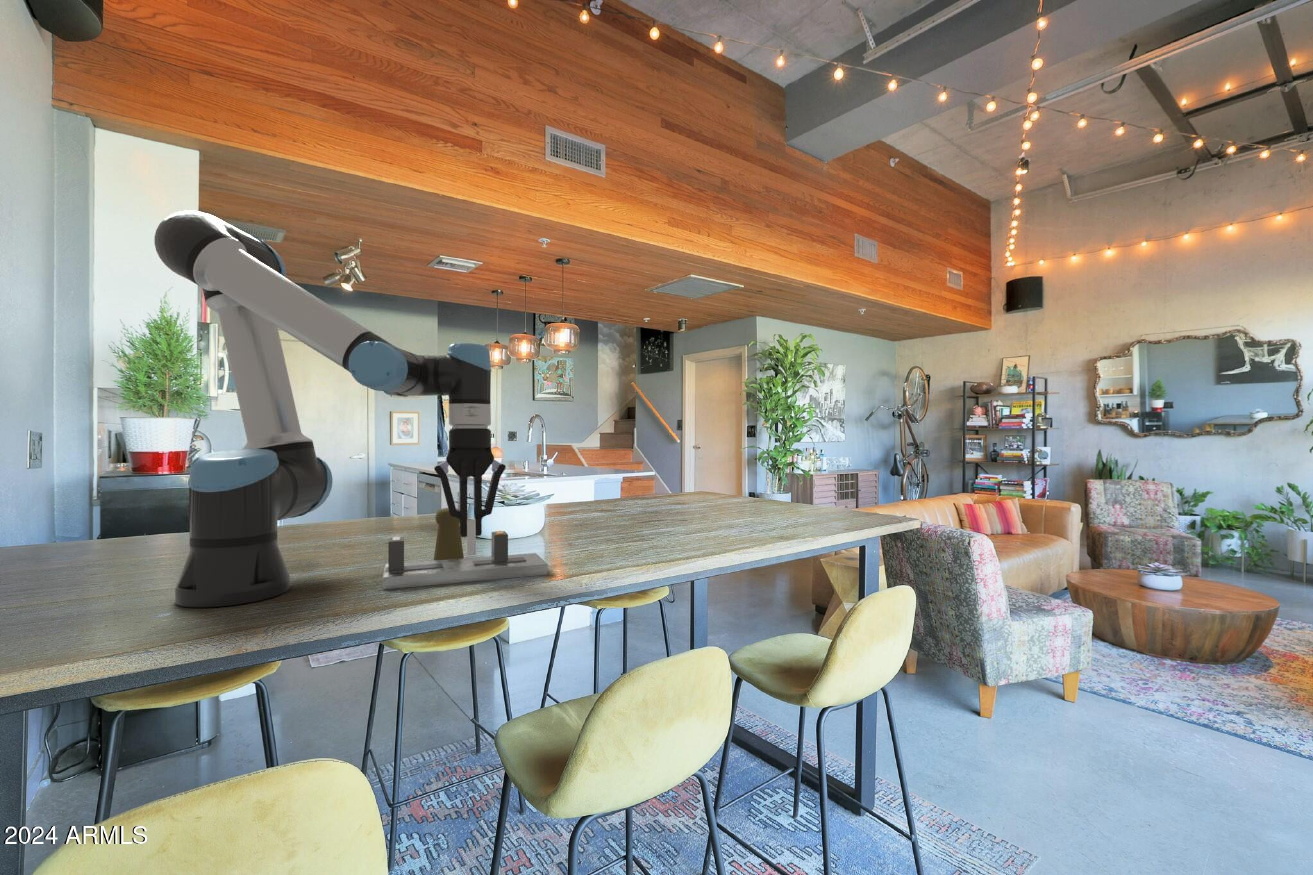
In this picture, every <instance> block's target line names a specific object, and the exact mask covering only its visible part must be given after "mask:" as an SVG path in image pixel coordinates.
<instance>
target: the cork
mask: <svg viewBox="0 0 1313 875" xmlns="http://www.w3.org/2000/svg"><path fill="white" fill-rule="evenodd" d="M456 510H458V511H459V508H456ZM435 523H436V524H437V525H438V526H437V533H436V540H435V547H434V553H433V554H434V556H433V561H436V560H449V559H463V558H465V557H464V556H465V555H464V549H463V542H462V537H461V535H460V520H459V518H456V517H452V516H451V515H450V513H449V509H448V507H445V508H440V509H438V510H437V511H436V512H435Z"/></svg>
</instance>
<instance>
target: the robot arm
mask: <svg viewBox="0 0 1313 875" xmlns="http://www.w3.org/2000/svg"><path fill="white" fill-rule="evenodd" d="M154 246H155V247H154V248H155V251H156V253H157V255H158V257H159V259H160V260H161V262H162V263H163V264H164V266H166V267H167V268H168V269H169V270H170V271H172V272H173V273H175V274H176V275H178V276H180V277H183V278H185V279H187V280H189V281H190V282H192V283H194V284H195V285H197V286H198V287H200V288H202V289H201V290H202V292H203V297H204V303H205V305H206V306H207V308H209V309H211V310H212V311H213V312H215V313H217V315H218V317H219V322H220V327H221V330H222V331H221V332H222V335H223V338H224V343H225V344H224V345H225V348H226V354H227V357H228V361H229V366H230V371H231V374H232V375H231V376H232V378H233V380H232V381H233V383H234V384H233V385H234V387H235V388H234V389H235V391H236V392H235V393H236V397H237V401H238V406H239V410H240V415H241V419H242V423H243V429H244V432H245V437H246V442H245V445H244V447H242V448H241V449H232V450H222V451H214V452H210V453H204V454H201V455H199V456H197V457H196V458H194V459H193V460H192V462H191V464H190V468H189V477H188V480H187V485H188V487H189V488H188V492H189V496H188V498H189V499H188V500H189V501H188V502H189V504H188V506H189V508H188V509H189V510H188V511H189V520H188V521H189V552H188V554H187V557H186V560H185V563H184V565H183V568H182V570H181V572H180V574H179V575H180V576H179V578H178V580H177V583H176V585H175V589H174V599H175V600H174V603H175V604H176V605H177V606H180V607H186V608H215V607H218V608H219V607H224V606H225V607H227V606H228V607H229V606H235V605H236V606H237V605H243V604H248V603H252V602H253V603H254V602H257V601H258V602H259V601H262V600H266V599H267V600H268V599H271V598H274V597H277V596H280V595H283V594H284V593H286V592H287V591H289V590H290V588H291V587H290V586H291V581H290V580H291V576H290V572H289V570H288V567H287V565H286V562H285V559H284V557H283V554H282V551H281V550H280V547H279V543H278V522H279V521H282V520H287V519H295V518H298V517H302V516H305V515H306V514H308V513H311V512H313V511H316V510H317V509H318V508H320V507H321V506H322V505H323V504H324V503H325V502H326V500H327V499H328V498H329V496H330V494H331V491H332V487H333V474H332V471H331V468H330V467H329V465H328V464H327V462H326V461H325V460H323V459H322V458H321V457H319V456H317V455H316V449H315V446H314V441H313V439H311V438H309V437H308V436H306V435H304V434H303V432H302V430H301V425H300V421H299V420H300V419H299V417H298V412H297V408H296V403H295V398H294V395H293V390H292V389H293V388H292V386H291V381H290V377H289V372H288V368H287V363H286V359H285V355H284V350H283V346H282V341H281V337H280V332H279V329H280V330H282V331H283V332H285V333H286V334H288V335H290V336H291V337H293V338H295V339H297V341H300V342H301V343H302V344H304V345H306V346H307V347H308V348H311V349H312V350H314V351H315V352H317V353H319V354H321V355H322V356H323V357H326V358H327V359H328V360H330V361H332V362H333V363H335V364H336V365H338V366H339V367H341V368H343V369H344V370H346V371H348V372H349V373H350V374H351V376H352V377H353V379H354V380H355V381H356V382H357V383H359V384H360V385H361V386H363V387H366V388H369V389H371V390H373V391H378V392H383V393H385V394H386V395H388V396H397V397H404V398H405V397H406V398H407V397H418V396H419V397H420V396H421V397H423V396H424V397H425V396H428V397H430V396H433V397H434V396H442V397H443V396H448V425H449V426H451V428H449V430H448V454H447V455H446V456H445V457H446V458H445V460H444V461H442V462H441V463H439V464H437V465H435V466H434V467H433V469H434V471H435V473H436V474H437V475H438V477H439V479H440V482H441V483H440V484H441V487H442V491H443V494H444V497H445V498H444V499H445V501H446V505H447V508H448V509H449V513H450V515H451V516H452V517H456V518H459V520H460V524H459V526H460V535H461V538H464V537H465V554H466V556H476V555H477V553H476V552H477V550H476V549H477V548H476V547H477V545H476V544H477V541H476V540H477V539H476V538H477V537H478V536H479V537H481V535H482V532H483V528H482V527H483V524H482V522H483V521H482V520H483V518H484V517H487V516H490V515H491V514H492V512H493V508H494V504H495V501H496V495H497V492H498V488H499V484H500V480H501V476H502V475H503V473H504V471H505V470H506V468H507V466H506V465H505V464H504V463H501V462H499V461H497V460H496V459H495V456H494V454H493V452H492V430H491V429H490V428H488V427H490V426H491V424H492V417H491V416H492V414H491V413H492V410H491V409H492V408H491V405H492V404H491V392H492V391H491V389H492V388H491V387H492V386H491V384H492V383H491V379H492V378H491V377H492V368H491V353H490V352H491V351H490V349H489V348H488V347H487V346H486V345H483V344H479V343H472V342H470V343H469V342H459V343H451V344H450V345H449V346H448V350H447V354H442V355H429V354H428V355H427V354H426V355H425V354H424V355H422V354H416V353H413V352H411V351H408V350H404V349H401V348H399V347H397V346H395V345H394V344H392V343H391V342H389V341H387V340H385V339H384V338H382V337H381V336H380V335H379V334H378V335H377V334H375V333H374V332H372V331H371V330H369V329H367V327H365V326H364V325H361V324H360V323H358V322H357V321H355V320H353V319H352V318H350V317H349V316H347V315H346V314H344V313H342V311H339V310H337V309H336V308H334V306H331V305H329V304H328V303H326V302H325V301H323V300H322V299H320V298H319V297H317V296H315V295H314V294H312V293H311V292H309V291H307V290H306V289H304V288H303V287H301V286H299V285H298V284H297V283H295V282H293V281H291V280H290V279H288V278H287V271H286V270H287V269H286V266H285V262H284V261H283V259H282V257H281V256H280V255H279V253H278V252H277V251H276V250H275V249H274V248H273V247H272V246H271V245H269V244H268V243H267V242H265V241H264V240H262V239H261V238H259V237H258V236H255V235H253V234H251V233H247V232H245V231H242V230H241V229H240V228H237V227H235V226H233V225H231V224H230V223H228V222H226V221H224V220H222V219H220V218H218V217H216V216H214V215H212V214H210V213H207V212H202V211H197V210H183V211H178V212H173V213H172V214H170V215H168V216H167V217H165V218H163V219H162V221H161V222H160V223H159V224H158V226H157V228H156V229H155V233H154ZM278 328H279V329H278ZM449 466H450V468H451V469H452V471H453V472H454V473H455V474H456V475H457V476H458V481H459V486H458V487H459V492H458V495H459V508H458V509H459V511H458V510H456V509H457V507H456V503H455V500H454V497H453V492H452V489H451V485H450V482H449V478H448V475H447V474H448V473H449ZM490 466H491V472H492V474H491V478H490V482H489V486H488V491H487V495H486V497H485V498H486V499H485V503H484V507H483V506H482V505H483V500H482V499H483V496H482V495H483V494H482V493H483V489H482V487H483V485H482V482H483V476H484V475H485V473H486V472H487V471H488V469H489V468H490ZM471 477H473V478H472V480H473V516H474V517H468V478H471Z"/></svg>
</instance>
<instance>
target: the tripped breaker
mask: <svg viewBox="0 0 1313 875" xmlns="http://www.w3.org/2000/svg"><path fill="white" fill-rule="evenodd" d="M490 549H491V558H492V559H493V561H494V562H502V561H508V555H509V534H508V533H507V532H506V531H505V530H504V531H503V530H496V531H491V548H490Z"/></svg>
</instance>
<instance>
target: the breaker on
mask: <svg viewBox="0 0 1313 875" xmlns="http://www.w3.org/2000/svg"><path fill="white" fill-rule="evenodd" d="M387 548H388V552H387V554H388V559H387V560H388V562H387V564H388V571H389V570H401V569H404V563H405V537H403V536H402V537H401V536H393V537H389V538H388V546H387Z"/></svg>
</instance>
